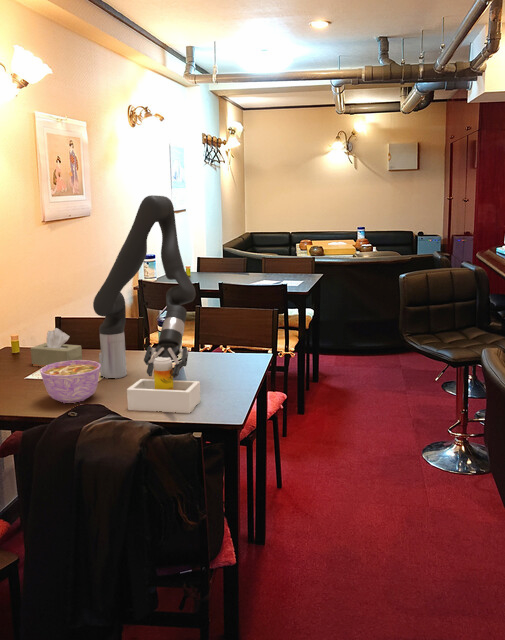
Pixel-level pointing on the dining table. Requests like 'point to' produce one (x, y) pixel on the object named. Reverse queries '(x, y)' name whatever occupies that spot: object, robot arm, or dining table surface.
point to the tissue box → (55, 349)
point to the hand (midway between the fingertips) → (161, 375)
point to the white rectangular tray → (163, 396)
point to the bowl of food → (71, 380)
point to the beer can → (163, 373)
